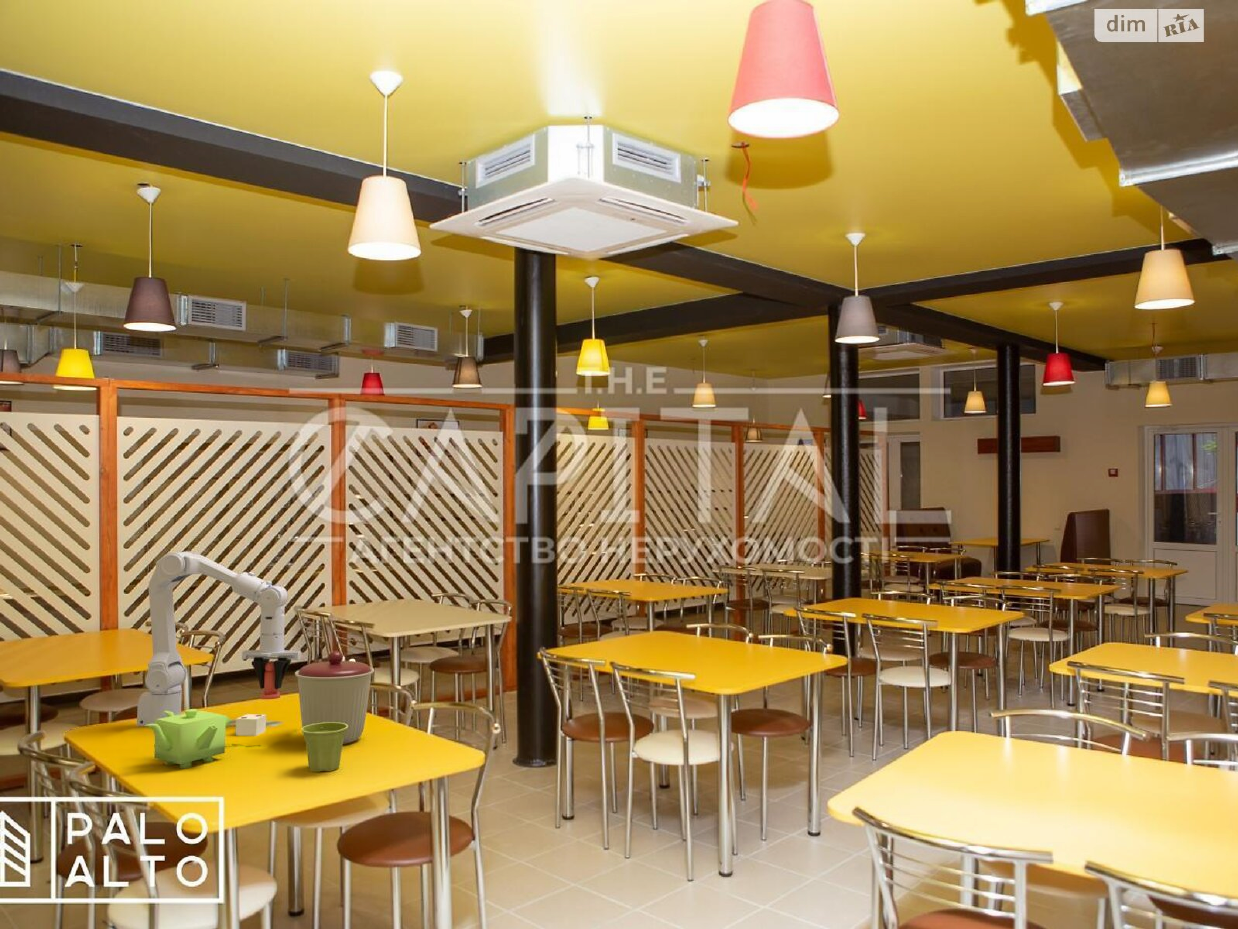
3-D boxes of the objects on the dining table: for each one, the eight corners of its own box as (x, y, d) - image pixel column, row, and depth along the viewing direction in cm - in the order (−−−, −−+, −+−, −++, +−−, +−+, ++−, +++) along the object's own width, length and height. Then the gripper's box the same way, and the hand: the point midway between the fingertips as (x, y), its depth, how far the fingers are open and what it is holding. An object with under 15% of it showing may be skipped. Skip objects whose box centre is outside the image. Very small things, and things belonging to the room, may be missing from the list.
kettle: (143, 773, 187) (145, 718, 188) (158, 756, 201) (159, 705, 201) (221, 768, 191) (223, 714, 192) (231, 752, 205) (232, 701, 205)
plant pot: (324, 777, 185) (325, 734, 186) (290, 771, 190) (291, 729, 190) (356, 766, 194) (357, 725, 194) (323, 760, 198) (324, 720, 198)
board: (186, 729, 226) (186, 725, 226) (201, 722, 233) (201, 718, 233) (275, 731, 224) (275, 727, 224) (288, 724, 231) (288, 720, 231)
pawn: (257, 699, 226) (258, 662, 227) (265, 695, 231) (266, 659, 231) (275, 699, 226) (276, 662, 226) (283, 696, 230) (284, 659, 231)
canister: (359, 728, 227) (361, 644, 229) (382, 744, 212) (384, 653, 213) (285, 737, 218) (287, 649, 219) (303, 754, 202) (306, 659, 204)
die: (235, 740, 216) (236, 718, 216) (245, 735, 221) (246, 714, 221) (255, 740, 215) (256, 719, 216) (265, 735, 220) (266, 714, 221)
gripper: (236, 635, 226) (235, 690, 225) (293, 636, 225) (291, 691, 224) (250, 631, 233) (248, 685, 232) (305, 632, 232) (303, 686, 231)
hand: (270, 688), depth 228 cm, fingers closed on pawn, 3 cm apart
